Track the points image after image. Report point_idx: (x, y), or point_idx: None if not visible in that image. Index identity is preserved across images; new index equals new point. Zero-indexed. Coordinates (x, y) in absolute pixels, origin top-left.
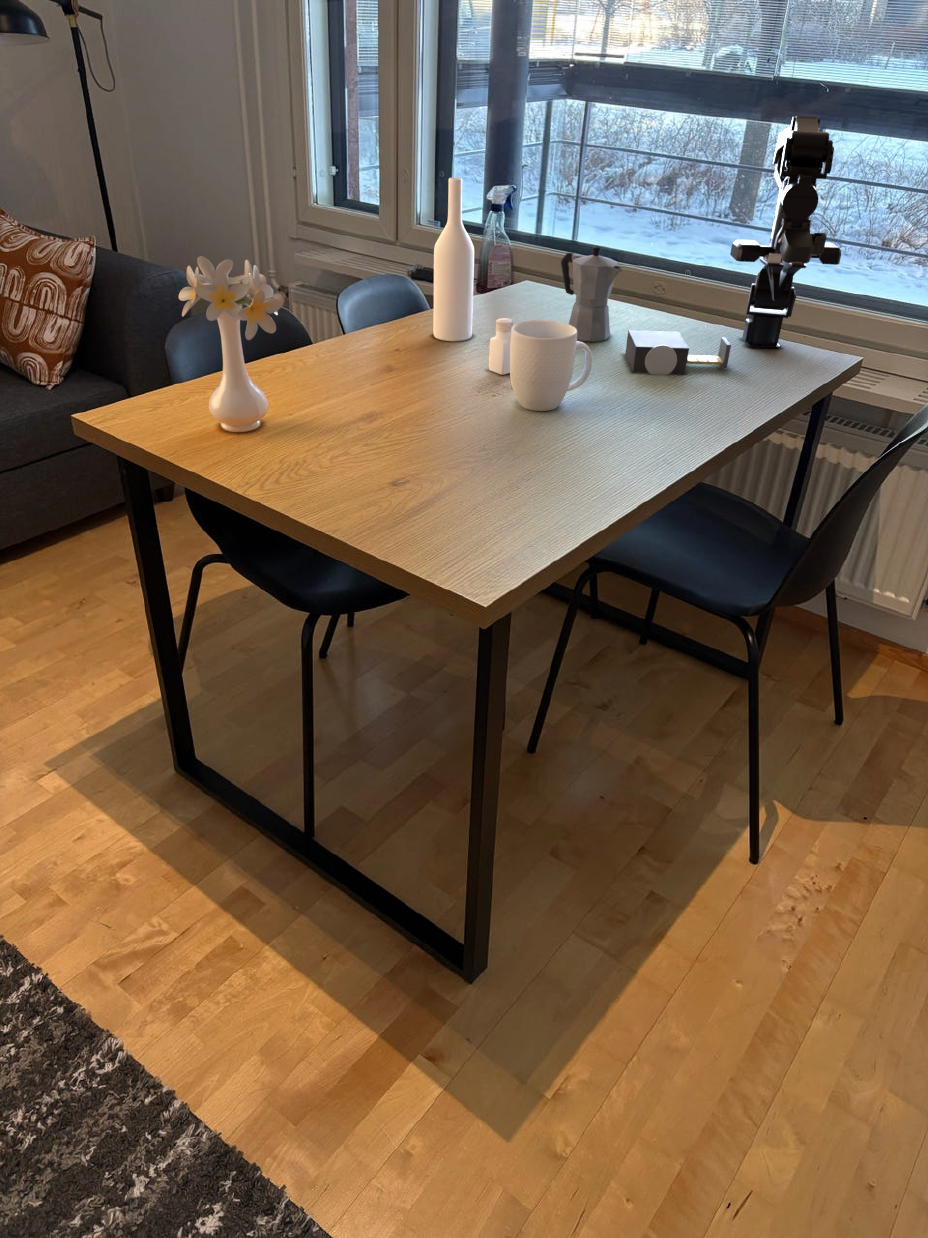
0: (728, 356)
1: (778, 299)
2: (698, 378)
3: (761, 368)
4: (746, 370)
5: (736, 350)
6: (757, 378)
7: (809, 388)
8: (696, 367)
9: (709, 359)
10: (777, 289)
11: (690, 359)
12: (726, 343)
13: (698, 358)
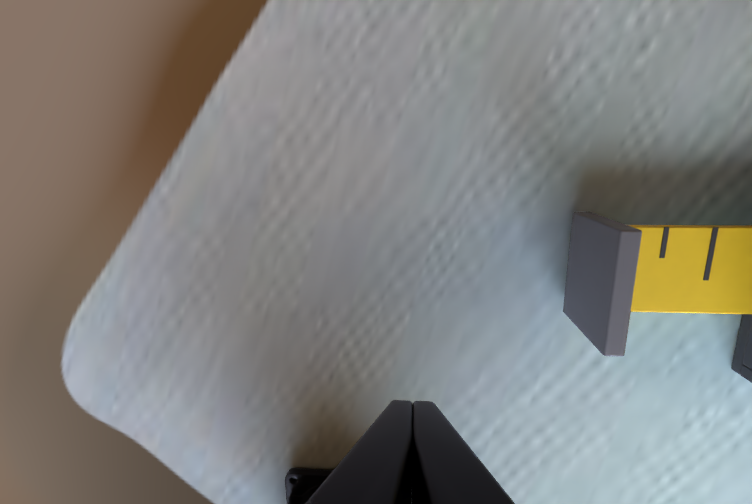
0: (596, 220)
1: (394, 400)
2: (734, 94)
3: (413, 251)
4: (481, 221)
5: None
6: (465, 123)
7: (281, 14)
8: None
9: (650, 256)
10: (434, 456)
11: (743, 249)
12: (638, 251)
13: (697, 267)
